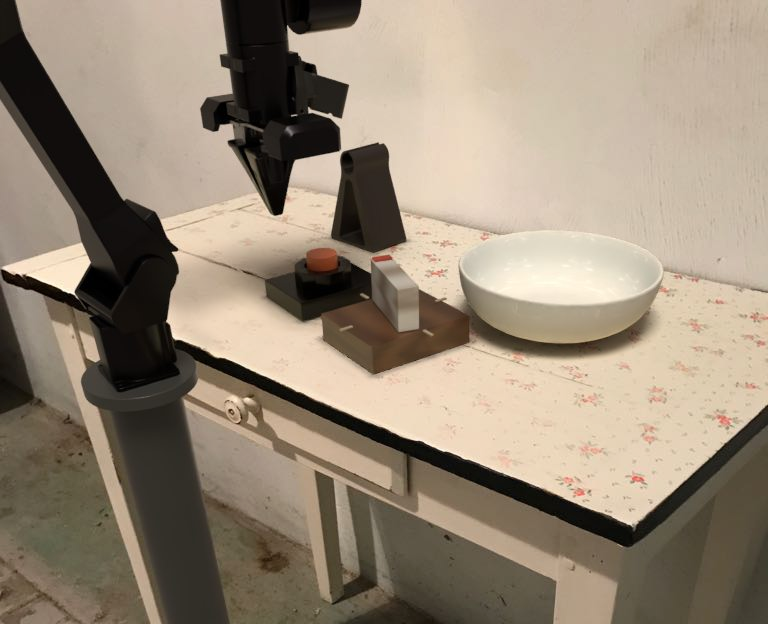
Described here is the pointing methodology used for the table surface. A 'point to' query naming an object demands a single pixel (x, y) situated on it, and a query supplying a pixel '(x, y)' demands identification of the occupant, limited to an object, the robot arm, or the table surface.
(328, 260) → the button
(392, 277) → the silver metal brick
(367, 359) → the brown wooden block base
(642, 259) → the serving bowl
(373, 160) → the phone stand
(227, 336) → the table surface
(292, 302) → the button block
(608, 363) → the table surface
